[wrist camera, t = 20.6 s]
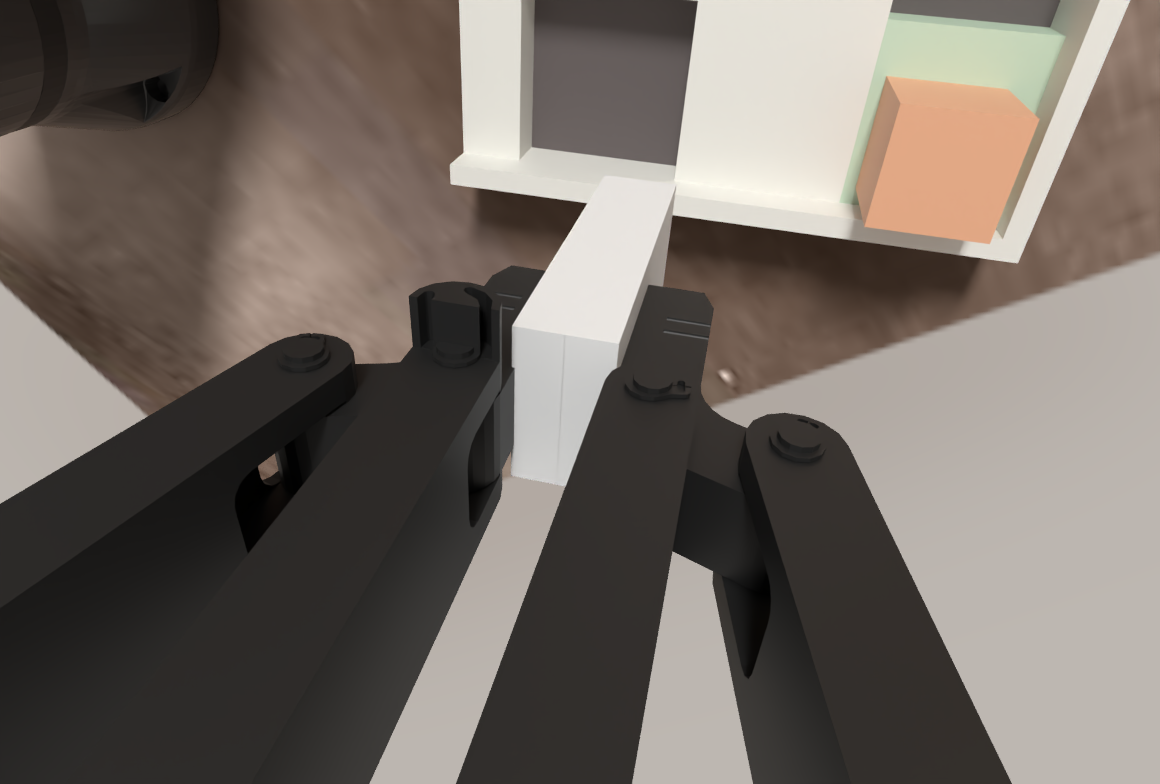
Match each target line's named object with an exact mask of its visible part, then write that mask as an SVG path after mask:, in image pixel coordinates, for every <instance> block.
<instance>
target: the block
mask: <svg viewBox="0 0 1160 784" xmlns="http://www.w3.org/2000/svg"><path fill="white" fill-rule="evenodd" d="M1039 120H1040V119H1039V118H1038V117H1037V116H1036V115H1035V114H1034V113H1033V112H1032V111H1031V110H1029V109H1028V108H1027V107H1026V106H1025V105H1024V104H1023V103H1022V102H1021V101H1020V100H1019V99H1018V98H1017V97H1016V96H1015V95H1014V94H1012V93H1011V92H1010V91H1009V90H1008V89H1002V88H993V87H984V86H974V85H965V84H956V83H947V82H938V81H928V80H919V79H910V78H901V77H892V76H886V79H885V83H884V87H883V90H882V94H881V97H880V101H879V105H878V108H877V112H876V116H875V119H874V123H873V126H872V130H871V134H870V137H869V141H868V144H867V148H866V152H865V155H864V159H863V162H862V166H861V170H860V173H859V177H858V181H857V184H856V192H857V196H858V201H859V205H860V210H861V214H862V219H863V223H864V227H869V228H876V229H883V230H891V231H898V232H905V233H912V234H920V235H927V236H934V237H941V238H949V239H956V240H963V241H970V242H978V243H985V244H990V242H991V240H992V237H993V235H994V232H995V230H996V227H997V225H998V222H999V220H1000V217H1001V215H1002V212H1003V210H1004V207H1005V205H1006V202H1007V200H1008V197H1009V195H1010V192H1011V190H1012V187H1013V185H1014V182H1015V180H1016V177H1017V175H1018V172H1019V170H1020V167H1021V165H1022V162H1023V160H1024V157H1025V155H1026V152H1027V150H1028V147H1029V145H1030V142H1031V140H1032V137H1033V135H1034V132H1035V130H1036V127H1037V125H1038V122H1039Z"/></svg>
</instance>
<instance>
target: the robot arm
mask: <svg viewBox="0 0 1160 784" xmlns="http://www.w3.org/2000/svg"><path fill="white" fill-rule="evenodd" d="M217 43H218V12H217V3H216V0H0V136H3V135H6V134H8V133H11V132H14V131H17V130H20V129H24V128H27V127H30V126H47V127H63V128H78V129H93V130H108V131H120V130H130V129H136V128H140V127H144V126H147V125H150V124H152V123H155V122H158V121H160V120H163V119H166V118H168V117H170V116H173V115H175V114H177V113H179V112H180V111H182V110H183V109H185V108H186V107H187V106H189V105H190V104H191V103H192V102H193V101H194V100H195V99H196V98H197V96H198V95H199V94H200V92H201V91H202V90H203V88H204V86H205V84H206V83H207V80H208V78H209V76H210V74H211V71H212V68H213V65H214V61H215V57H216V51H217ZM676 185H677V184H669V183H662V182H654V181H647V180H639V179H632V178H624V177H617V176H609V175H605V176H604V177H603V179H602V181H601V182H600V184H599V186H598V187H597V189H596V190H595V192H594V194H593V195H592V197H591V199H590V200H589V202H588V203H587V205H586V207H585V208H584V210H583V212H582V213H581V215H580V216H579V218H578V220H577V221H576V223H575V225H574V226H573V228H572V229H571V231H570V233H569V234H568V236H567V237H566V239H565V241H564V242H563V244H562V246H561V247H560V249H559V250H558V252H557V254H556V255H555V257H554V259H553V260H552V262H551V263H550V265H549V267H548V268H547V270H546V271H544V270H537V269H531V268H524V267H518V266H510V267H508V268H506V269H504V270H502V271H501V272H499V273H497V274H495V275H493V276H492V277H491V278H490V279H489V281H488V282H487V283H486V285H485V286H481V285H477V284H473V283H468V282H444V283H435V284H432V285H429V286H426V287H423V288H420V289H418V290H417V291H415V292H414V293H412V294H411V295H409V305H410V317H411V329H412V342H413V347H412V348H411V350H410V351H409V352H408V353H407V355H406V356H405V357H404V358H403V360H402V361H401V362H399V363H387V364H355V359H354V352H353V350H352V348H351V347H350V345H349V343H347V342H345V341H343V340H342V339H340V338H338V337H334V336H329V335H324V334H316V333H313V334H311V333H307V334H299V335H297V336H292V337H287V338H284V339H281V340H279V341H277V342H274V343H272V344H270V345H268V346H266V347H265V348H263V349H261V350H260V351H258V352H256V353H255V354H253V355H251V356H249V357H248V358H246V359H244V360H243V361H241V362H239V363H238V364H236V365H234V366H233V367H231V368H229V369H227V370H226V371H224V372H222V373H221V374H219V375H217V376H216V377H214V378H212V379H211V380H209V381H207V382H205V383H204V384H202V385H200V386H199V387H197V388H195V389H194V390H192V391H190V392H189V393H187V394H185V395H183V396H182V397H180V398H178V399H177V400H175V401H173V402H172V403H170V404H168V405H167V406H165V407H163V408H162V409H160V410H158V411H156V412H155V413H153V414H151V415H150V416H148V417H146V418H145V419H143V420H141V421H140V422H138V423H136V424H135V425H133V426H131V427H130V428H128V429H126V430H124V431H123V432H121V433H119V434H118V435H116V436H115V437H112V438H111V439H109V440H107V441H106V442H104V443H102V444H101V445H99V446H97V447H96V448H94V449H92V450H91V451H89V452H87V453H85V454H84V455H82V456H80V457H79V458H77V459H75V460H74V461H72V462H70V463H69V464H67V465H65V466H64V467H62V468H60V469H59V470H57V471H55V472H53V473H52V474H50V475H48V476H47V477H45V478H43V479H41V480H40V481H38V482H36V483H35V484H33V485H31V486H30V487H28V488H26V489H25V490H23V491H21V492H19V493H18V494H16V495H14V496H13V497H11V498H9V499H8V500H6V501H4V502H3V503H1V504H0V784H369V783H370V781H371V779H372V777H373V774H374V772H375V770H376V767H377V765H378V764H379V761H380V759H381V757H382V755H383V752H384V750H385V748H386V746H387V744H388V742H389V740H390V737H391V735H392V733H393V731H394V729H395V726H396V724H397V722H398V720H399V718H400V715H401V713H402V711H403V709H404V707H405V705H406V702H407V700H408V698H409V696H410V694H411V692H412V689H413V687H414V685H415V683H416V681H417V679H418V676H419V674H420V672H421V670H422V668H423V665H424V663H425V661H426V659H427V656H428V655H429V652H430V650H431V648H432V646H433V644H434V641H435V639H436V637H437V635H438V633H439V631H440V628H441V626H442V624H443V622H444V620H445V617H446V615H447V613H448V611H449V609H450V607H451V604H452V602H453V600H454V598H455V596H456V594H457V591H458V589H459V587H460V585H461V583H462V580H463V578H464V576H465V574H466V572H467V569H468V567H469V565H470V563H471V561H472V559H473V556H474V554H475V552H476V550H477V548H478V546H479V543H480V541H481V539H482V537H483V535H484V532H485V530H486V528H487V526H488V523H489V522H490V519H491V517H492V515H493V513H494V511H495V509H496V506H497V504H498V502H499V500H500V497H501V491H502V469H503V466H504V464H505V462H506V460H507V458H508V456H509V454H510V452H511V476H515V477H520V478H525V479H530V480H536V481H540V482H546V483H551V484H556V485H561V486H566V487H565V490H564V493H563V495H562V498H561V500H560V503H559V506H558V509H557V511H556V514H555V517H554V519H553V522H552V525H551V528H550V531H549V533H548V536H547V538H546V541H545V544H544V547H543V549H542V552H541V555H540V557H539V560H538V563H537V565H536V568H535V571H534V574H533V576H532V579H531V582H530V584H529V587H528V590H527V593H526V595H525V598H524V601H523V603H522V606H521V609H520V612H519V614H518V617H517V620H516V622H515V625H514V628H513V631H512V634H511V636H510V639H509V641H508V644H507V647H506V650H505V652H504V655H503V658H502V660H501V663H500V666H499V669H498V671H497V674H496V677H495V679H494V682H493V685H492V688H491V690H490V693H489V696H488V698H487V701H486V704H485V707H484V709H483V712H482V715H481V717H480V720H479V723H478V725H477V728H476V731H475V734H474V737H473V739H472V742H471V745H470V747H469V750H468V753H467V755H466V758H465V761H464V763H463V766H462V769H461V772H460V774H459V777H458V780H457V783H456V784H632V779H633V774H634V768H635V763H636V757H637V751H638V745H639V739H640V733H641V728H642V722H643V716H644V710H645V704H646V699H647V693H648V688H649V682H650V676H651V671H652V665H653V659H654V654H655V648H656V642H657V636H658V631H659V625H660V619H661V613H662V607H663V602H664V596H665V590H666V584H667V579H668V573H669V567H670V562H671V556H672V551H673V552H675V553H677V554H679V555H681V556H683V557H686V558H688V559H689V560H691V561H693V562H695V563H698V564H700V565H702V566H704V567H706V568H708V569H710V570H712V571H713V587H714V592H715V597H716V602H717V607H718V612H719V617H720V622H721V627H722V632H723V636H724V642H725V647H726V652H727V656H728V662H729V666H730V671H731V676H732V681H733V686H734V691H735V696H736V701H737V706H738V711H739V716H740V721H741V726H742V731H743V736H744V741H745V746H746V751H747V755H748V760H749V765H750V770H751V775H752V780H753V784H1012V783H1011V781H1010V779H1009V777H1008V775H1007V773H1006V771H1005V769H1004V767H1003V764H1002V762H1001V760H1000V759H999V756H998V754H997V752H996V750H995V748H994V746H993V744H992V742H991V740H990V738H989V736H988V734H987V731H986V730H985V727H984V725H983V724H982V721H981V719H980V717H979V715H978V713H977V711H976V709H975V707H974V705H973V702H972V700H971V698H970V696H969V694H968V692H967V690H966V688H965V686H964V684H963V682H962V680H961V678H960V676H959V673H958V671H957V669H956V667H955V665H954V663H953V661H952V659H951V657H950V655H949V653H948V651H947V649H946V647H945V645H944V643H943V640H942V638H941V636H940V634H939V632H938V630H937V628H936V626H935V624H934V622H933V620H932V618H931V616H930V614H929V611H928V609H927V607H926V605H925V603H924V601H923V599H922V597H921V595H920V593H919V591H918V589H917V587H916V585H915V582H914V580H913V578H912V576H911V574H910V572H909V570H908V568H907V566H906V564H905V562H904V560H903V558H902V556H901V553H900V551H899V549H898V547H897V545H896V543H895V541H894V539H893V537H892V535H891V533H890V531H889V529H888V527H887V525H886V522H885V521H884V519H883V516H882V514H881V512H880V510H879V508H878V506H877V504H876V502H875V500H874V498H873V496H872V494H871V491H870V490H869V487H868V485H867V483H866V481H865V479H864V477H863V475H862V473H861V471H860V469H859V467H858V465H857V463H856V460H855V458H854V456H853V454H852V452H851V450H850V448H849V446H848V445H847V443H846V442H845V441H844V440H843V438H842V437H841V436H840V434H839V433H837V432H836V431H834V430H833V429H831V428H830V427H828V426H827V425H825V424H824V423H821V422H819V421H817V420H814V419H811V418H809V417H806V416H801V415H795V414H788V413H779V414H767V415H765V416H763V417H760V418H758V419H756V420H753V422H752V423H751V424H750V425H749V427H748V428H745V427H743V426H740V425H738V424H736V423H734V422H731V421H729V420H727V419H725V418H723V417H721V416H720V415H719V414H718V413H716V412H715V411H713V410H712V409H711V408H710V406H709V405H708V404H707V403H706V402H705V400H704V398H703V396H702V394H701V381H702V375H703V369H704V363H705V357H706V351H707V345H708V339H709V334H710V328H711V322H712V316H713V310H714V308H713V307H712V305H711V303H710V302H709V300H708V298H707V297H706V295H705V294H704V293H700V292H694V291H687V290H681V289H674V288H668V287H663V281H664V274H665V267H666V259H667V252H668V244H669V237H670V229H671V222H672V215H673V207H674V200H675V192H676ZM273 454H275V456H276V461H277V465H278V470H279V471H278V472H276V473H275V474H274V475H272V476H271V477H269V478H267V479H265V480H262V479H261V477H260V474H259V470H258V465H260V464H261V463H262V462H264V461H265V460H266V459H268V458H269V457H271V456H272V455H273Z"/></svg>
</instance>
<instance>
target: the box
mask: <svg viewBox="0 0 1160 784" xmlns="http://www.w3.org/2000/svg"><path fill="white" fill-rule="evenodd" d="M1129 2H1130V0H459V11H460V43H461V76H462V109H463V142H464V153H463V154H462V155H461V156H459V157H458V158H457V159H456V160H455V161H453V162H452V163H451V164H450V178H451V184H453V185H461V186H468V187H475V188H482V189H489V190H496V191H504V192H511V193H518V194H525V195H532V196H539V197H547V198H554V199H561V200H568V201H575V202H582V203H588V202H589V200H590V199H591V197H592V195H593V194H594V192H595V190H596V189H597V187H598V186H599V184H600V182H601V181H602V179H603V177H604V176H605V175H609V176H617V177H624V178H632V179H639V180H647V181H654V182H662V183H669V184H677V185H676V192H675V200H674V207H673V215H676V216H683V217H690V218H697V219H704V220H711V221H719V222H726V223H733V224H740V225H747V226H754V227H762V228H769V229H776V230H783V231H790V232H797V233H805V234H812V235H819V236H826V237H833V238H840V239H848V240H855V241H862V242H869V243H876V244H883V245H891V246H898V247H905V248H912V249H919V250H926V251H934V252H941V253H948V254H955V255H962V256H969V257H977V258H984V259H991V260H998V261H1005V262H1012V263H1018V261H1019V259H1020V257H1021V254H1022V252H1023V250H1024V247H1025V245H1026V243H1027V240H1028V238H1029V236H1030V233H1031V231H1032V229H1033V226H1034V224H1035V222H1036V219H1037V217H1038V215H1039V212H1040V210H1041V208H1042V205H1043V203H1044V201H1045V198H1046V196H1047V194H1048V191H1049V189H1050V187H1051V184H1052V182H1053V180H1054V177H1055V175H1056V173H1057V170H1058V168H1059V166H1060V163H1061V161H1062V159H1063V156H1064V154H1065V152H1066V149H1067V147H1068V145H1069V142H1070V140H1071V137H1072V135H1073V133H1074V130H1075V128H1076V126H1077V123H1078V121H1079V119H1080V116H1081V114H1082V112H1083V109H1084V107H1085V105H1086V102H1087V100H1088V98H1089V95H1090V93H1091V91H1092V88H1093V86H1094V84H1095V81H1096V79H1097V77H1098V74H1099V72H1100V70H1101V67H1102V65H1103V63H1104V60H1105V58H1106V56H1107V53H1108V51H1109V49H1110V46H1111V44H1112V42H1113V39H1114V37H1115V35H1116V32H1117V30H1118V28H1119V25H1120V23H1121V21H1122V18H1123V16H1124V13H1125V11H1126V9H1127V6H1128V4H1129ZM886 76H892V77H901V78H910V79H919V80H928V81H938V82H947V83H956V84H965V85H974V86H984V87H993V88H1002V89H1008V90H1009V91H1010V92H1011V93H1012V94H1014V95H1015V96H1016V97H1017V98H1018V99H1019V100H1020V101H1021V102H1022V103H1023V104H1024V105H1025V106H1026V107H1027V108H1028V109H1029V110H1031V111H1032V112H1033V113H1034V114H1035V115H1036V116H1037V117H1038V118H1039V119H1040V120H1039V122H1038V125H1037V127H1036V130H1035V132H1034V135H1033V137H1032V140H1031V142H1030V145H1029V147H1028V150H1027V152H1026V155H1025V157H1024V160H1023V162H1022V165H1021V167H1020V170H1019V172H1018V175H1017V177H1016V180H1015V182H1014V185H1013V187H1012V190H1011V192H1010V195H1009V197H1008V200H1007V202H1006V205H1005V207H1004V210H1003V212H1002V215H1001V217H1000V220H999V222H998V225H997V227H996V230H995V232H994V235H993V237H992V240H991V242H990V244H985V243H978V242H970V241H963V240H956V239H949V238H941V237H934V236H927V235H920V234H912V233H905V232H898V231H891V230H883V229H876V228H869V227H864V223H863V219H862V214H861V210H860V205H859V201H858V196H857V192H856V184H857V181H858V177H859V173H860V170H861V166H862V162H863V159H864V155H865V152H866V148H867V144H868V141H869V137H870V134H871V130H872V126H873V123H874V119H875V116H876V112H877V108H878V105H879V101H880V97H881V94H882V90H883V87H884V83H885V79H886Z"/></svg>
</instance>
